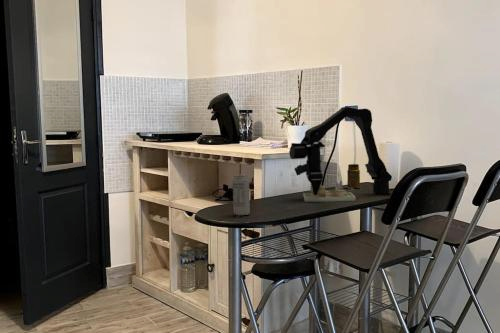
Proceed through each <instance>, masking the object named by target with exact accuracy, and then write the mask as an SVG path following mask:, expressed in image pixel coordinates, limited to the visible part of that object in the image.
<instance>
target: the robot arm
mask: <svg viewBox="0 0 500 333" xmlns="http://www.w3.org/2000/svg"><path fill="white" fill-rule="evenodd" d="M345 118H349V119H353V121H354V124H355V125H356V126H357V127H358V128H359V131H360V133H361V137H362V141H363V144H364V148H365V151H366V155H367V160H368V162H367V163H365V164H364V167H365V168H366V173H368V175H369V176H370V177H371V180H373V182H372V193H373V194H374V195H375V196H377V195H378V196H379V195H391V193H390V182H391V181H392V179H393V178H392V177H393V176H392V175H391V173H389V171H388V169H387V167H386V165H385V162H383V160H382V159H381V158H380V156H379V151H378V148H377V144H376V141H375V137H374V134H373V129H372V123H373V116H372V111H371V110H370V109H369V108H355V107H353V108H352V107H349V106H343V107H340V108H339V110H337V111H335V113H333V114H332V115H330V116H329V117H328V118H326V119H325V120H324V121H322V122H321V123H320V124H318V125H314V126H313V127H310V128H308V129H307V130H306V131H304V132H305V133H304V136H303V138H302V140H301V142H300V143H298V142H291V144H290V147H289V158H290V159H291V160H301V159H306V163H305V164H299V165H297V166H296V167H294V171H295V174H296V176H299V175H301V174H304V173H305V176H306V178H307V180H308V182H309V183H310V187H311V186H312V188H313V193H314V195H317V193H318V190H319V187H320V186H322V185H321V184H322V182H323V180H324V179H323V178H324V174H323V173H322V168H321V166H322V164H321V163H322V161H321V148H325V147H326V146H325V144H324V143H322V141H321V140H322V139H324V137H325V136H326V134H327V133H328V131H329V130H331V129H332V128H334V127H335V126H336V125H338V124H339V123H341V121H343V120H344V119H345Z"/></svg>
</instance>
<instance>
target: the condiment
mask: <svg viewBox="0 0 500 333" xmlns="http://www.w3.org/2000/svg"><path fill="white" fill-rule="evenodd" d="M347 166H348V167H347V172H346V173H347V174H346V175H347V187H353V188H357V187H361V179H360V178H361V175H360V174H361V170H360V164H358V163H353V164H352V163H350V164H348V165H347Z"/></svg>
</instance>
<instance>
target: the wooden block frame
mask: <svg viewBox="0 0 500 333" xmlns="http://www.w3.org/2000/svg"><path fill="white" fill-rule="evenodd" d="M325 186H326V185H320V187H319V190H318V193H317V195H314V193H313V188H312V186H311V185H310V193H311V198H313V197H347V192H348V191H346V189H342V190H336V189H335V190H326V187H325Z"/></svg>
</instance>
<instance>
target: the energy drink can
mask: <svg viewBox="0 0 500 333" xmlns="http://www.w3.org/2000/svg"><path fill="white" fill-rule="evenodd" d="M250 198H251V197H250V179H249V177H248V174H244V173H243V174H234V175H233V178H232V199H233V200H232V201H233V202H232V204H233V214H234V215H235V214H236V215H248V214H250V213H251V207H250V206H251V205H250V204H251V202H250ZM248 216H249V215H248Z"/></svg>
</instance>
